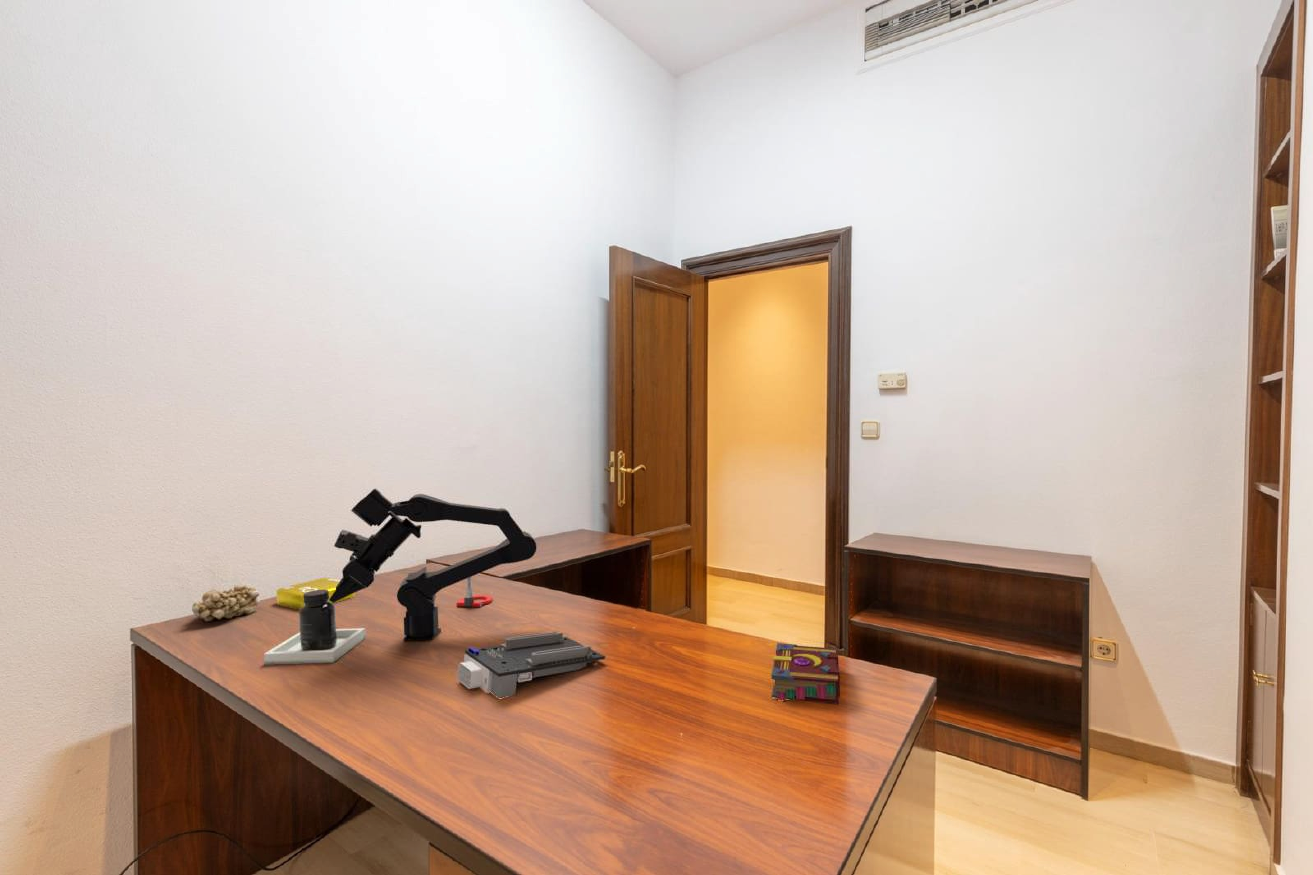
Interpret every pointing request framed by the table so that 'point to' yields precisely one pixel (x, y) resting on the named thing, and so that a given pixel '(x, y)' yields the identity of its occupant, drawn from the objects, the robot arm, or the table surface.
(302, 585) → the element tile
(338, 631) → the ceramic tray
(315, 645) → the supplement bottle
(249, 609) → the mineral formation
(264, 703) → the table surface
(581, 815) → the table surface
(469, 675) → the circuit board
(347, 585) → the robot arm
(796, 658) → the decorative book
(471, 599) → the tow hook
